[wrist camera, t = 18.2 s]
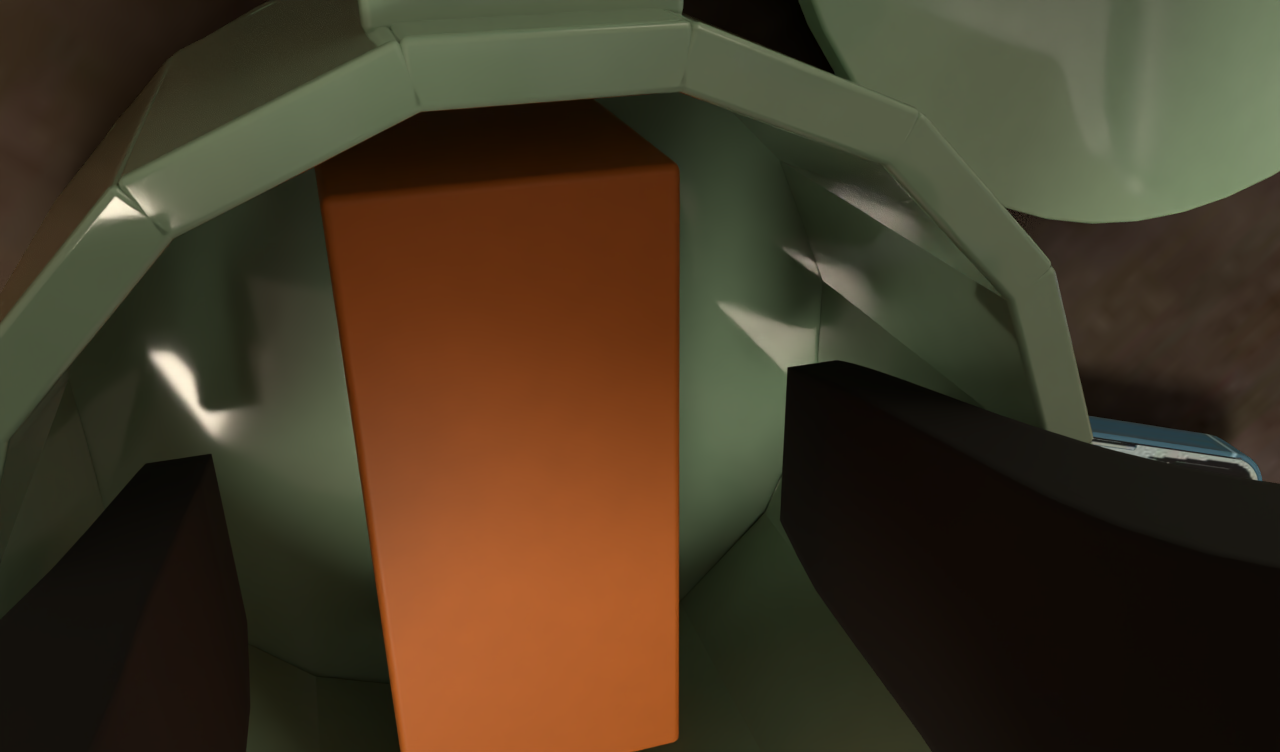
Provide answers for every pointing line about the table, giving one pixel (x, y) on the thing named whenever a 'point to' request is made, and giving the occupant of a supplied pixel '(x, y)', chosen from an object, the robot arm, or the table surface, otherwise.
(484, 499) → the orange rectangular block
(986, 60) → the pot lid
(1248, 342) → the table surface
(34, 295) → the pot
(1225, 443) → the smartphone
